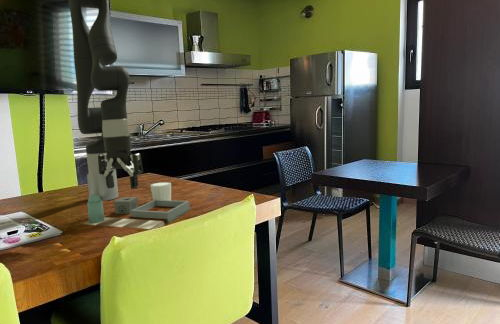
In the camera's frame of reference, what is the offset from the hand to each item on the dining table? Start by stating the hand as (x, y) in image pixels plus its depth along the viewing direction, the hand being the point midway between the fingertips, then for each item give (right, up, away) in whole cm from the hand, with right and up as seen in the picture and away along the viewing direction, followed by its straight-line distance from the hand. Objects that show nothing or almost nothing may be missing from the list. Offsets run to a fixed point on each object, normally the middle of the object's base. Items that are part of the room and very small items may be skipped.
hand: (122, 188), depth 113 cm
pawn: (-5, -9, -7) cm, 12 cm away
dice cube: (+1, -9, +2) cm, 9 cm away
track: (+4, -10, -10) cm, 15 cm away
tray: (+12, -8, -1) cm, 15 cm away
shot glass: (+9, -6, +12) cm, 17 cm away
